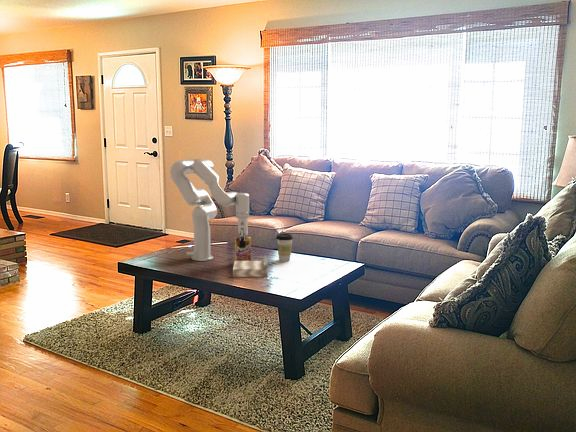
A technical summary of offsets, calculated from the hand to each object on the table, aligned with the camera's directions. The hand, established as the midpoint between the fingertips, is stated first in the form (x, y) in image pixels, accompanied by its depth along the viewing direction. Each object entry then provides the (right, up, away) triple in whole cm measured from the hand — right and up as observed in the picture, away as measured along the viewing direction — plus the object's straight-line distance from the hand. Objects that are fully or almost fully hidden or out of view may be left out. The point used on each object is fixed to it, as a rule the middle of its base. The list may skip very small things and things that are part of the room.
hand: (242, 245), depth 324 cm
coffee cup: (+24, -9, +10) cm, 27 cm away
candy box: (0, -10, +2) cm, 10 cm away
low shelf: (+6, -13, -17) cm, 22 cm away
